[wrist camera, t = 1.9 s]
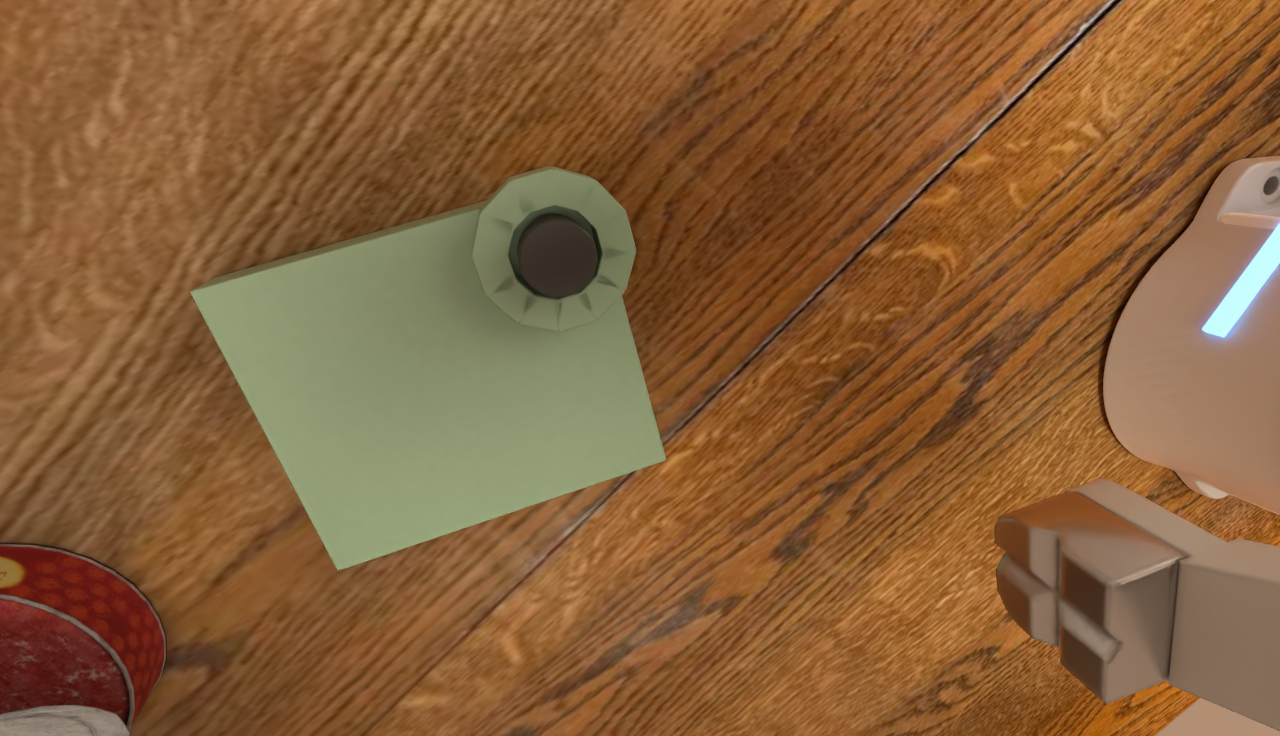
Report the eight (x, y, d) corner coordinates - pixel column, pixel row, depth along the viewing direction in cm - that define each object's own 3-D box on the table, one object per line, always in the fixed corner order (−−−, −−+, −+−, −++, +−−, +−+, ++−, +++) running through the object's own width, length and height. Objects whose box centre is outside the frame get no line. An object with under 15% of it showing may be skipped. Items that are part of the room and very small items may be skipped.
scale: (595, 147, 26) (611, 151, 23) (671, 434, 31) (692, 470, 27) (201, 258, 24) (158, 279, 21) (346, 541, 29) (329, 594, 26)
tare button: (580, 205, 23) (585, 209, 22) (600, 276, 24) (606, 285, 23) (507, 226, 23) (508, 232, 22) (530, 297, 24) (532, 307, 23)
